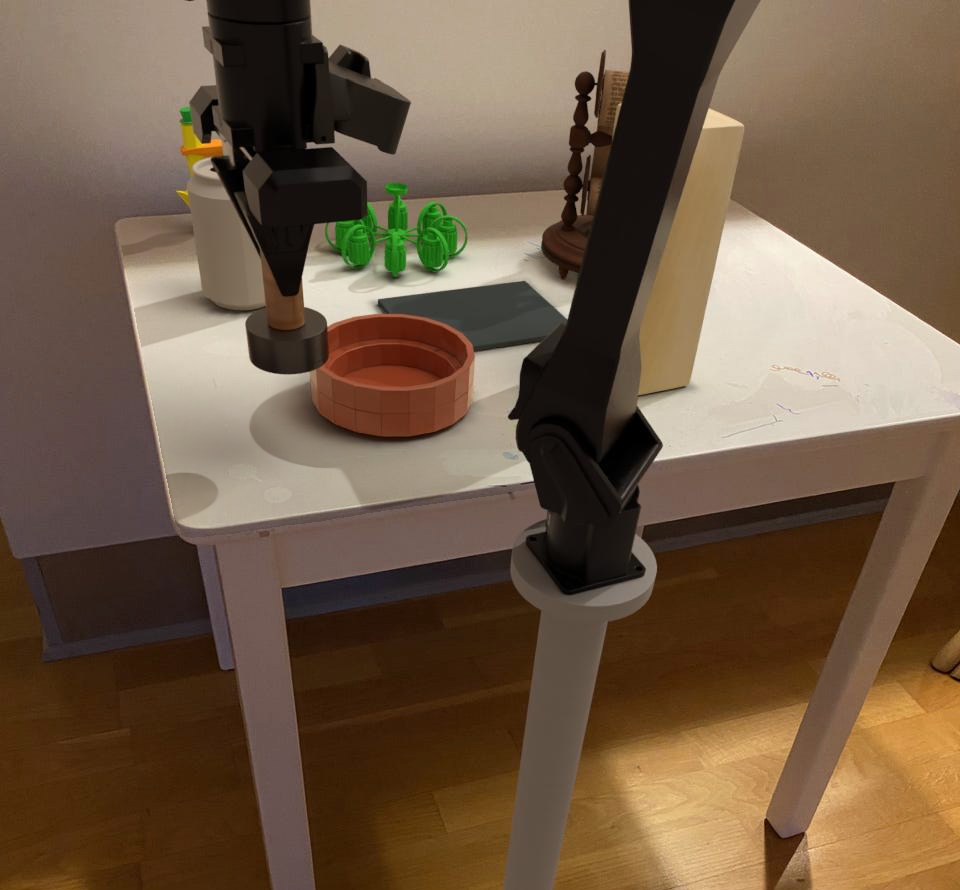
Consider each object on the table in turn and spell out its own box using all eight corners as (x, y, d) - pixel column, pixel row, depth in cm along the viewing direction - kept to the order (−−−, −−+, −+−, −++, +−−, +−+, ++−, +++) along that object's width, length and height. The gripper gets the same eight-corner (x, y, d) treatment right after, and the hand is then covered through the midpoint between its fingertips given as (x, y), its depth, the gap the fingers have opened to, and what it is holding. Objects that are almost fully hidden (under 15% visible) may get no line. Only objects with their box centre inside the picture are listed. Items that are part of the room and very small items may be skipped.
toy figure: (239, 220, 105) (225, 100, 97) (247, 232, 103) (234, 110, 95) (178, 227, 103) (158, 104, 94) (185, 238, 100) (166, 114, 92)
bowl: (496, 426, 76) (501, 375, 73) (340, 454, 72) (337, 401, 69) (436, 353, 85) (437, 305, 82) (293, 375, 80) (289, 324, 77)
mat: (579, 335, 89) (580, 330, 89) (422, 359, 84) (422, 354, 83) (524, 285, 97) (525, 280, 96) (377, 303, 91) (377, 298, 91)
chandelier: (331, 225, 105) (328, 159, 101) (464, 231, 106) (467, 166, 102) (320, 280, 95) (316, 209, 90) (468, 286, 96) (471, 216, 91)
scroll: (671, 247, 107) (711, 43, 93) (679, 300, 96) (725, 79, 82) (543, 234, 107) (563, 30, 94) (536, 287, 97) (558, 64, 83)
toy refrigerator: (573, 359, 85) (608, 101, 71) (641, 347, 88) (688, 96, 74) (619, 400, 80) (666, 131, 66) (689, 386, 83) (750, 125, 68)
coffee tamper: (339, 367, 66) (332, 229, 59) (260, 380, 64) (244, 238, 57) (315, 333, 69) (306, 199, 63) (240, 344, 68) (223, 207, 61)
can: (273, 278, 94) (261, 149, 86) (290, 309, 89) (279, 175, 81) (197, 285, 92) (177, 153, 84) (210, 318, 87) (190, 181, 79)
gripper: (456, 47, 49) (447, 329, 60) (344, -19, 61) (352, 225, 72) (247, 55, 46) (276, 354, 56) (170, -18, 58) (207, 240, 68)
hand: (283, 286), depth 63 cm, fingers closed on coffee tamper, 2 cm apart
